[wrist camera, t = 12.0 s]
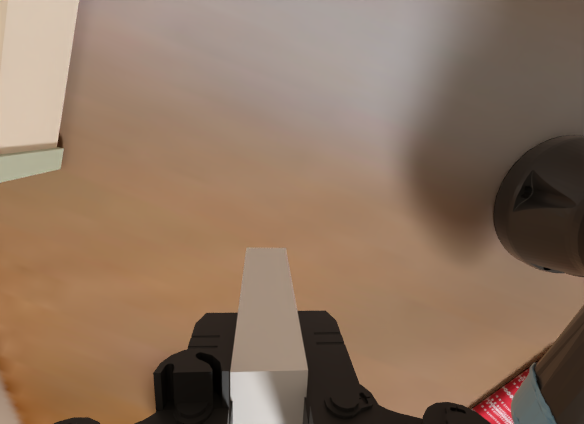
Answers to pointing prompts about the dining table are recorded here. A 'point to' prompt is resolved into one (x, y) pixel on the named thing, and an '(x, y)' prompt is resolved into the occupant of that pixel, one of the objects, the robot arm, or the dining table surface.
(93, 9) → the dining table surface
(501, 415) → the dish towel
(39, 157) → the gate
